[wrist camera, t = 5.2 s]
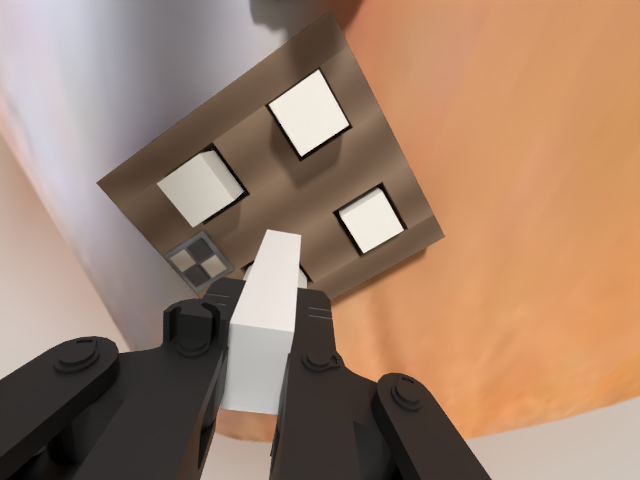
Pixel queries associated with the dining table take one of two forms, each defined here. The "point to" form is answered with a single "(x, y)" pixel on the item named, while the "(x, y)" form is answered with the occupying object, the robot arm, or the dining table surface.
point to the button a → (201, 187)
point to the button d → (370, 219)
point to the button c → (309, 113)
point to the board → (280, 175)
